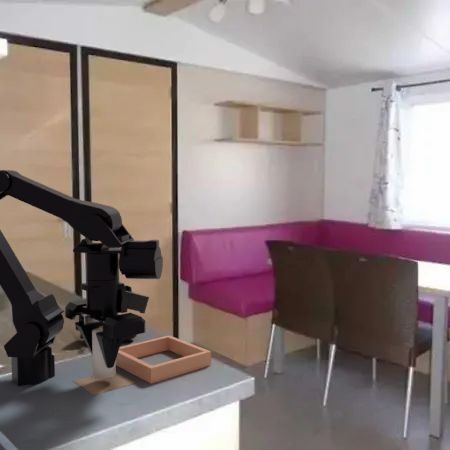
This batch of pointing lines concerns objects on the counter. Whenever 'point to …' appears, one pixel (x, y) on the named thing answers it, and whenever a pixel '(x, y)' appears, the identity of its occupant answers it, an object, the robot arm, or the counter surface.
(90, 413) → the counter surface
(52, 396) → the counter surface
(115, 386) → the brown flat square pad
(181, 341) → the salmon square tray
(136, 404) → the counter surface
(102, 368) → the white cylinder with knob
